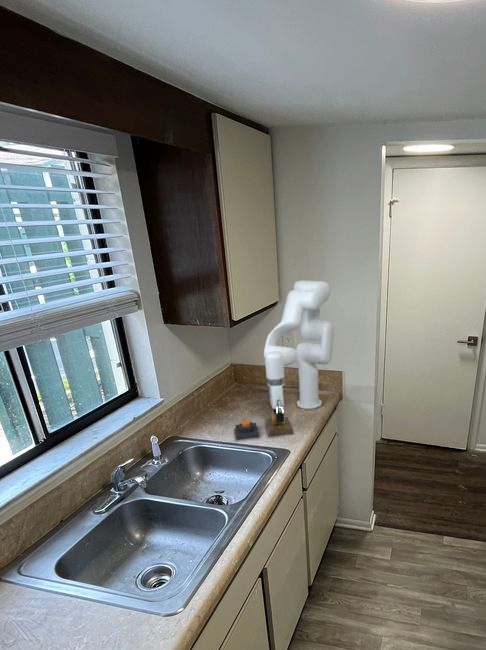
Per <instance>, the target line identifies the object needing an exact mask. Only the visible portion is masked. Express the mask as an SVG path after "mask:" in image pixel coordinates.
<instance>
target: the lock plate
mask: <svg viewBox="0 0 486 650" xmlns="http://www.w3.org/2000/svg"><path fill="white" fill-rule="evenodd" d="M265 426H266V430H267V434H268V437H269V438H270V437H279V436H286V435H293V427H292V424H291V422H290V419H289V417H288V416H285V423H283V424H275V425H272V418H266V419H265Z"/></svg>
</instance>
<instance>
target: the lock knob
mask: <svg viewBox="0 0 486 650" xmlns="http://www.w3.org/2000/svg"><path fill="white" fill-rule="evenodd" d="M283 413H284V422H278V423H277V420H276V414H277V412H276V413H274V412H271V414H270V415H271V419H272V425H275V424H283V423H285V417H286V416H285V411H284V410H283Z"/></svg>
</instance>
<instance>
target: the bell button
mask: <svg viewBox="0 0 486 650" xmlns="http://www.w3.org/2000/svg"><path fill="white" fill-rule="evenodd" d="M250 422H251V421H249V420H242V421H241V423H242V427H249V426H250Z"/></svg>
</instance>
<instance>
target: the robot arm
mask: <svg viewBox="0 0 486 650" xmlns="http://www.w3.org/2000/svg"><path fill="white" fill-rule="evenodd" d="M330 295H331V286H330V284H329V283H328V282H327V281H325V280H324V281H323V280H303V279H301V280H297V281H295V282H294V283H293V290H292V289H291V290H290V291H289V292H288V293H287V295H286V299H285V304H284V309H283V311H282V316H281V320H280V322H279V323H278V324H277V325H275V326H274V327H273V329H272V330H271V331H270V332H269V333H268V335H267V337H266V340H265V344H264V349H263V358H264V364H265V365H264V367H265V375H266V385H267V386H268V387H269V401H270V405H271V408H272V410H273V413H276V412H277V414H276V420H277V423H278V422H284V415H285V412H284V413H283V411H284V409H283V408H284V407H285V401H284V399H285V398H284V386H285V385H286V378H285V367H288V366H291V365H293V364H295V363H296V361H297V367H298V369H297V370H298V389H299V391H298V392H299V399H298V400H297V401H296V406H297V407H298V408H300V409H305V410H313V409H317V408H320V407H321V406H322V405H323V401H322V400H321V399H320V396H319V392H320V391H319V389H320V388H319V370H318V367H317V365H324V366H325V365H329V364H330V362H332V356H333V347H334V336H335V333H334V332H335V330H334V329H335V328H334V326H333V323H331V321H330V320H329V321H328V320H323V319H320V313H321V310H320V308H321V307H322V306H323V305H324V303H326V302H327V300H328V299H329V297H330ZM299 329H300V336H301V338H302V339H305V340H307V341H317V342H320V343H315V342H307V341H305V342H300V343H298V344H297V346H296V347H295V348H293V347H291V346H290V347H289V346H281V345H277V343H278V341H279V340H280V339H281V338H282V337H283V336H285V335H287V334H290V333H292V332H295V331H297V330H299Z"/></svg>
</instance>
